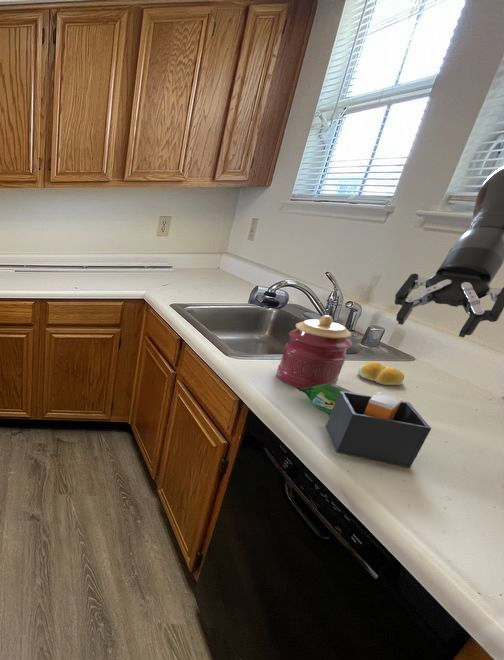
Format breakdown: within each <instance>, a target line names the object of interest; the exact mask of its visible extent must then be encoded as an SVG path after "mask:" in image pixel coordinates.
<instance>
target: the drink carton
mask: <svg viewBox="0 0 504 660" xmlns="http://www.w3.org/2000/svg"><path fill="white" fill-rule="evenodd" d="M372 396H373V397H372V398H371V399H370V400H369V403H368V406H367V408H366V410H365V412H364V414H363V415H367V416H372V417H378V418H383V419H389V420H393V418H394V416H395V414H396V412H397V410H398V408H399V405H400V403H401V402H402V401H403V400H404V399H403V398H401V397H398V396H394V395H391V394H388V393H384V392H381V391H378V392H377V393H376V394H375V395H372Z"/></svg>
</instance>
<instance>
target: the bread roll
mask: <svg viewBox="0 0 504 660" xmlns="http://www.w3.org/2000/svg"><path fill="white" fill-rule="evenodd" d="M357 373H358V375H359V376H360V377H362V378H363V379H365V380H369V381H372V382H375V383H377V384H380V385H383V386H399V385H401V384H403V382H404V381H405V374H404V373H403V371H402V370H399V369H397V368H394V367H391V366H386V365H384V364H383V363H380V362H377V361H369V362H367V363H364V364H363V365H361V366H360V367H359V368H358V370H357Z"/></svg>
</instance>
